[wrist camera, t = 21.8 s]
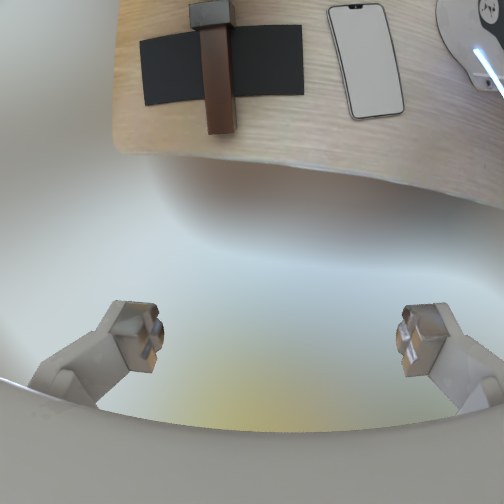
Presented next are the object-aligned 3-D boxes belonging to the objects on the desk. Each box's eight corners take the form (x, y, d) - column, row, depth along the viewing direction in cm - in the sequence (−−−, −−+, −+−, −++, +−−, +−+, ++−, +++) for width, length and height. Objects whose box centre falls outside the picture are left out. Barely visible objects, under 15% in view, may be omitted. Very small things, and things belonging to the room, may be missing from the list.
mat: (301, 25, 31) (301, 24, 30) (303, 94, 35) (304, 94, 35) (140, 41, 33) (139, 41, 32) (146, 105, 37) (144, 105, 37)
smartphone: (351, 120, 36) (324, 6, 28) (350, 120, 36) (324, 7, 29) (406, 114, 34) (383, 2, 27) (404, 113, 35) (381, 3, 28)
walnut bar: (234, 6, 30) (228, -2, 26) (242, 128, 38) (238, 134, 34) (197, 11, 30) (188, 4, 26) (207, 131, 38) (199, 137, 34)
